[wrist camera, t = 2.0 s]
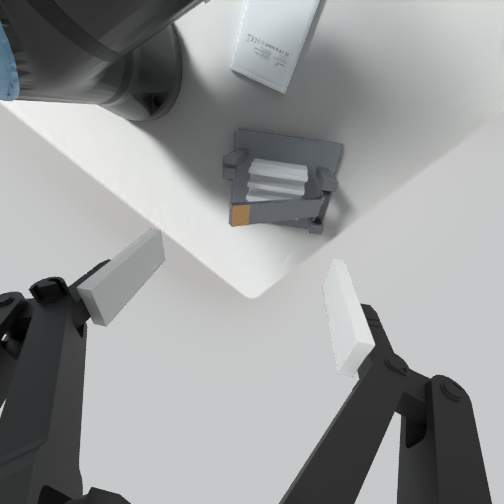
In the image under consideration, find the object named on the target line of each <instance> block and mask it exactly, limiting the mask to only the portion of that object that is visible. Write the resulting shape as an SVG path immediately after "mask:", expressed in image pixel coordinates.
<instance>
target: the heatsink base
mask: <svg viewBox="0 0 504 504" xmlns="http://www.w3.org/2000/svg"><path fill="white" fill-rule="evenodd" d="M342 148H343V144H340V143H332V142H325V141H318V140H310V139H303V138H296V137H288V136H281V135H274V134H266V133H259V132H252V131H244V130H235V146H234V151H233V152H231V153H230V154H228V155H226V156H224V157H223V178H224V179H230V180H233V181H232V199H231V203H234V202H252V201H267V200H282V199H297V198H312V197H319V195H320V192H321V189H322V190H325V191H332V192H335V190H336V187H337V184H338V181H337V180H336V179H335V177H334V174H335V170H336V167H337V164H338V161H339V157H340V154H341V151H342ZM312 219H313V217H309V218H300V219H292V220H283V221H275V222H269V223H275V224H280V225H286V226H292V227H298V228H304V229H309V233H315V234H320V235H321V233H322V230H323V223H321V224H317V223H314V222H313V221H312Z"/></svg>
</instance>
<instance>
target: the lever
mask: <svg viewBox="0 0 504 504" xmlns="http://www.w3.org/2000/svg"><path fill="white" fill-rule="evenodd" d="M331 194H332V191H325V190H322V189H321V192H320V195H319V197H312V198H297V199H282V200H267V201H252V202H234V203H230V210H229V224H230V225H231V226H232V227H234V226H242V225H249V224H258V223H266V222H275V221H283V220H292V219H300V218H309V217H313V219H312V221H313V222H314V223H317V224H321V223H322V222H323V219H324V216H325V213H326V210H327V206H328V203H329V200H330V197H331Z"/></svg>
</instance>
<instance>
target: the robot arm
mask: <svg viewBox="0 0 504 504" xmlns="http://www.w3.org/2000/svg"><path fill="white" fill-rule="evenodd" d="M203 1H205V4H206V3H207V2H209V1H210V0H0V100H3V101H13V100H27V101H45V102H63V103H81V104H97V105H99V106H101V107H103V108H105V109H107V110H108V111H110V112H112V113H114V114H116V115H118V116H120V117H123V118H125V119H129V120H135V121H148V120H154V119H157V118H159V117H161V116H163V115H164V114H165V113H166V112H168V111H169V109H170V108H171V107H172V105H173V104H174V102H175V100H176V98H177V96H178V93H179V90H180V85H181V78H182V60H181V53H180V48H179V43H178V40H177V36H176V34H175V31H174V28H173V26H172V23H173V22H175V21H176V20H178V19H179V18H180V17H182V16H183V15H185V14H186V13H187V12H189V11H190V10H192V9H193V8H194V7H196V6H197V5H199V4H200V3H202V2H203ZM164 261H165V255H164V248H163V242H162V236H161V230H157V229H150V230H148V231H147V232H146V233H145V234H144V235H142V236H141V237H140V238H138V239H137V240H136V241H135V242H133V243H132V244H131V245H129V246H128V247H127V248H126V249H124V250H123V251H122V252H121V253H119V254H118V255H117V256H116V257H114V258H113V259H112V260H109V259H108V260H106V261H104V262H102V263H99V264H98V265H97V266H95V267H94V268H93V269H92V270H90V271H89V272H87V274H85V275H84V276H82V277H81V278H80V279H78V280H77V281H76V282H74V283H73V284H72V285H70V286H69V287H67V285H66V283H65V281H64V279H62V278H60V277H49V278H46V279H42V280H40V281H38V282H36V283H35V284H33V285H32V286H31V287H30V289H29V290H30V292H31V294H32V295H33V297H34V298H32V299H25V298H24V296H23V295H22V293H19V292H9V293H4V294H1V295H0V408H1V406H2V404H3V402H4V401H5V399H6V402H5V405H4V408H3V411H2V414H1V417H0V504H131V503H129V502H128V501H127V500H126V499H125V498H123V497H122V496H121V495H120V494H116V493H112V492H109V491H105V490H101V489H97V488H94V487H91V489H90V491H89V493H88V494H86V495H82V494H83V491H82V490H83V484H82V477H81V474H80V470H79V452H80V435H81V419H82V403H83V386H84V370H85V354H86V338H87V324H86V321H87V320H88V319H89V318H90V317H91V319H92V321H93V323H94V324H97V325H102V326H107V325H108V324H109V323H110V322H111V321H112V320H113V318H115V316H116V315H117V314H118V313H119V312H120V311H121V310H122V308H123V307H124V306H125V305H126V304H127V302H128V301H129V300H130V299H131V298H132V297H133V296H134V295H135V294H136V293H137V291H138V290H139V289H140V288H141V287H142V286H143V285H144V283H145V282H146V281H147V280H148V279H149V278H150V277H151V276H152V275H153V273H154V272H155V271H156V270H157V269H158V268H159V267H160V265H161V264H162V263H163V262H164ZM322 289H323V294H324V300H325V305H326V311H327V317H328V322H329V328H330V333H331V339H332V344H333V350H334V355H335V361H336V366H337V372H338V374H341V375H346V376H351V377H353V376H354V375H355V374H356V372H357V371H358V375H359V379H360V380H359V381H358V382H357V384H356V385H355V386H354V388H353V390H352V392H351V393H350V395H349V396H348V398H347V399H346V401H345V402H344V404H343V406H342V407H341V409H340V411H339V412H338V413H337V415H336V417H335V418H334V419H333V421H332V423H331V424H330V426H329V427H328V429H327V430H326V432H325V433H324V435H323V436H322V438H321V439H320V441H319V443H318V444H317V446H316V448H315V449H314V450H313V452H312V453H311V455H310V456H309V458H308V460H307V461H306V463H305V464H304V466H303V467H302V469H301V470H300V472H299V473H298V475H297V477H296V478H295V480H294V481H293V483H292V484H291V486H290V487H289V489H288V491H287V492H286V494H285V495H284V497H283V498H282V500H281V501H280V503H279V504H354V503H355V501H356V498H357V496H358V494H359V492H360V489H361V487H362V485H363V482H364V480H365V478H366V476H367V473H368V471H369V469H370V466H371V464H372V462H373V460H374V457H375V455H376V453H377V451H378V448H379V446H380V444H381V442H382V439H383V437H384V435H385V432H386V430H387V428H388V425H389V423H390V421H391V419H392V416H393V414H394V412H397V413H399V414H400V415H401V432H400V451H399V471H398V490H397V504H492V501H491V496H490V492H489V487H488V482H487V477H486V472H485V467H484V462H483V457H482V452H481V448H480V442H479V438H478V433H477V428H476V423H475V418H474V413H473V408H472V403H471V400H470V398H469V396H468V394H467V393H466V392H465V390H464V389H463V388H462V387H461V386H460V385H458V384H457V383H456V382H455V381H453V380H452V379H450V378H448V377H445V376H443V375H435V376H433V377H432V378H431V379H429V378H428V377H425V376H423V375H421V374H419V373H417V372H415V371H413V370H411V369H409V367H408V365H407V364H406V362H405V361H404V360H403V359H401V357H399V356H398V355H396V354H395V353H394V352H393V349H392V347H391V345H390V342H389V340H388V338H387V336H386V333H385V331H384V329H383V326H382V324H381V322H380V319H379V317H378V315H377V313H376V311H375V310H373V308H372V307H371V306H370V305H366V304H360V302H359V299H358V296H357V294H356V291H355V288H354V286H353V283H352V280H351V278H350V275H349V272H348V269H347V267H346V264H345V261H344V260H342V259H336V258H333V259H332V262H331V265H330V267H329V270H328V273H327V276H326V278H325V281H324V284H323V286H322ZM4 334H6V335H7V336H6V337H5V338H4V340H2V338H3V336H4ZM6 397H7V398H6Z"/></svg>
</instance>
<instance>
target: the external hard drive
mask: <svg viewBox="0 0 504 504" xmlns="http://www.w3.org/2000/svg"><path fill="white" fill-rule="evenodd" d="M319 2H320V0H246V3H245V7H244V11H243V15H242V19H241V24H240V28H239V32H238V36H237V41H236V45H235V49H234V53H233V58H232V62H231V66H230V69H231V70H233V71H235V72H237V73H240V74H242V75H244V76H246V77H248V78H250V79H252V80H255V81H257V82H259V83H261V84H263V85H265V86H267V87H270V88H272V89H274V90H276V91H278V92H280V93H282V94H285V93H286V90H287V88H288V85H289V82H290V79H291V77H292V74H293V71H294V69H295V66H296V63H297V61H298V58H299V55H300V53H301V50H302V47H303V45H304V42H305V39H306V37H307V34H308V31H309V29H310V26H311V23H312V21H313V18H314V15H315V13H316V10H317V7H318V5H319Z"/></svg>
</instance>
